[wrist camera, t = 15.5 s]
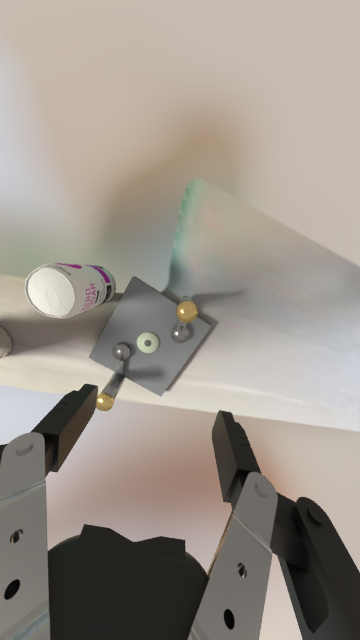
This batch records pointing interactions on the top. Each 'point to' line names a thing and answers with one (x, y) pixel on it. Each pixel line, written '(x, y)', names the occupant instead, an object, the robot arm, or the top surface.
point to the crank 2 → (184, 319)
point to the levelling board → (147, 337)
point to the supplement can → (68, 289)
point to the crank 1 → (114, 378)
